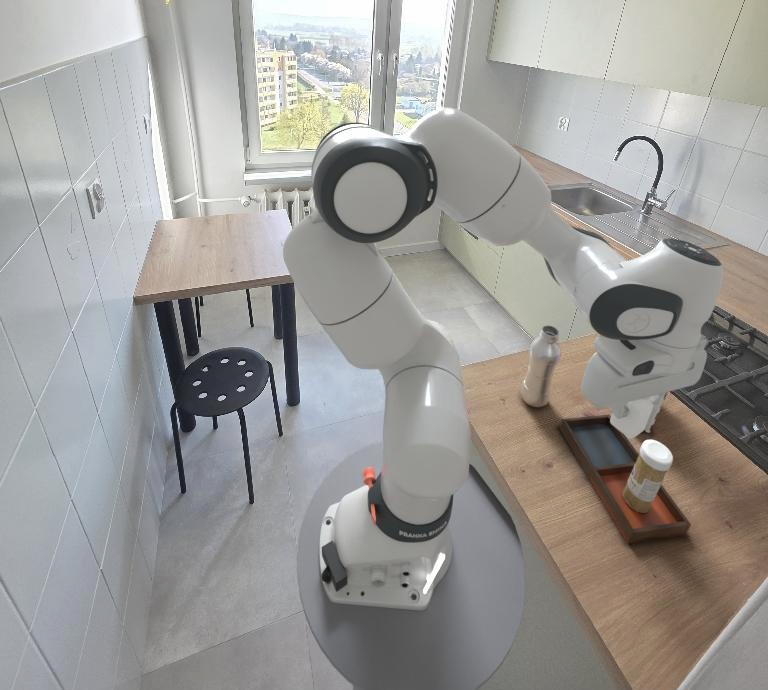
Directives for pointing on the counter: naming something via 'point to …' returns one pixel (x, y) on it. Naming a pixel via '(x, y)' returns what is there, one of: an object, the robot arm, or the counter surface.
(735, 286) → the counter surface
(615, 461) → the tray
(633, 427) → the pepper shaker
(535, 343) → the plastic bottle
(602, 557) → the counter surface
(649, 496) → the sprinkles bottle
